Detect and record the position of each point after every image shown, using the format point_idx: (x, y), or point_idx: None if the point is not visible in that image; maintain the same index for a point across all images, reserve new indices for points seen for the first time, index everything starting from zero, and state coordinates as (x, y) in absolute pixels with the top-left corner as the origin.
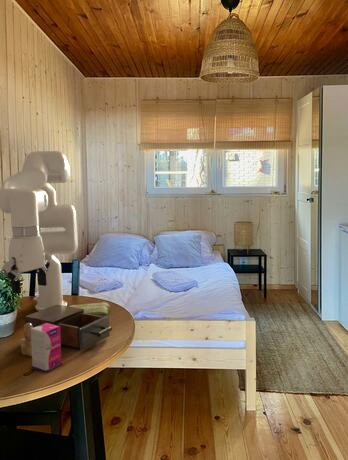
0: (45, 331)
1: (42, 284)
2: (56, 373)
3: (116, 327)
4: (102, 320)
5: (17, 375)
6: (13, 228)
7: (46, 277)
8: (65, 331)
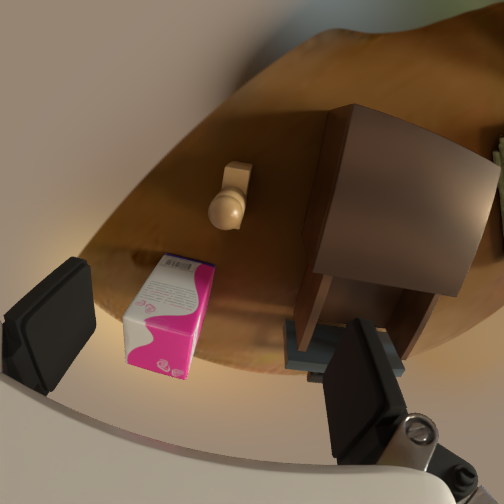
0: (131, 362)
1: (330, 367)
2: None
3: (449, 314)
4: None
5: (125, 241)
6: None
7: None
8: (309, 296)
